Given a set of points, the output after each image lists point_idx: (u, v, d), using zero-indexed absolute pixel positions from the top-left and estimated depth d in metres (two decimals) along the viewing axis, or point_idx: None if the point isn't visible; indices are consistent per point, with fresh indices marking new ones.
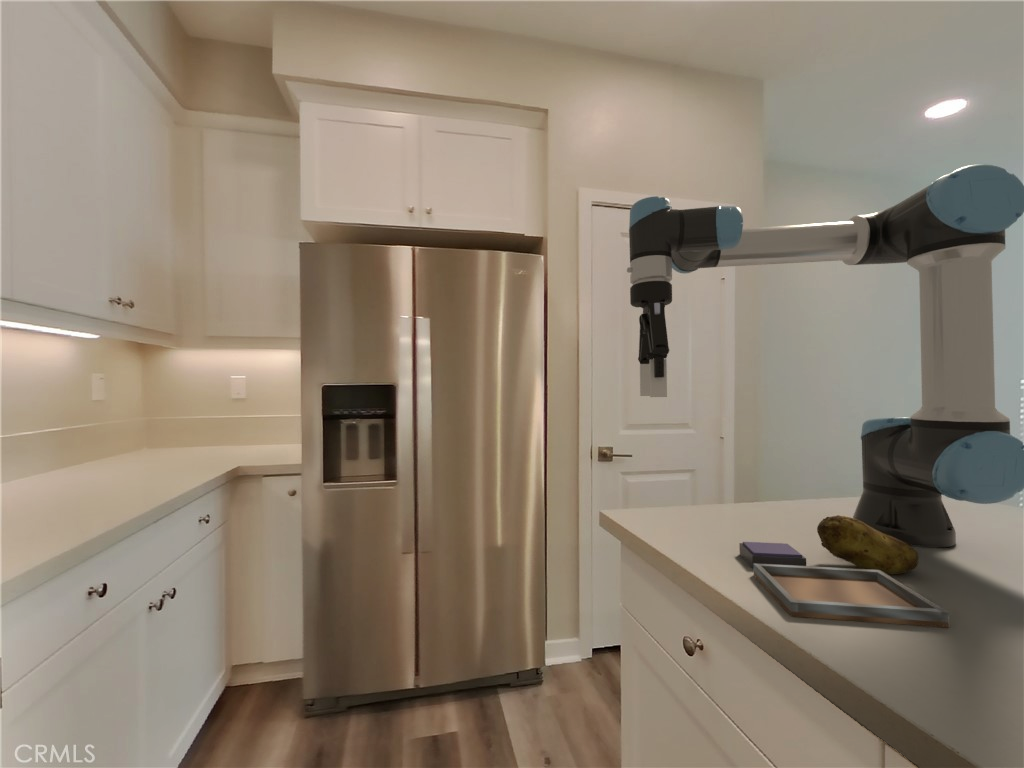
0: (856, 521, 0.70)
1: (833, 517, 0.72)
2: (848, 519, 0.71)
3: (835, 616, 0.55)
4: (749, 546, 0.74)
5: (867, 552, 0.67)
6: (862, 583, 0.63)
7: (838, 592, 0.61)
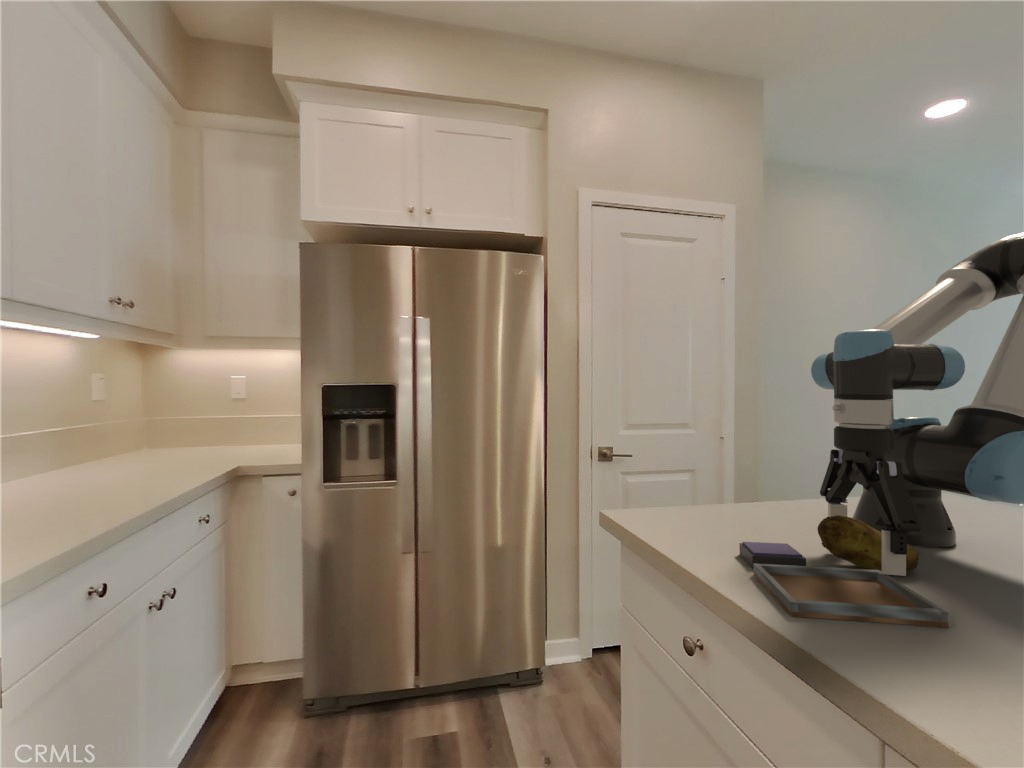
0: (856, 520, 0.70)
1: (833, 517, 0.72)
2: (848, 519, 0.71)
3: (835, 616, 0.55)
4: (749, 546, 0.74)
5: (867, 551, 0.67)
6: (862, 583, 0.63)
7: (838, 592, 0.61)
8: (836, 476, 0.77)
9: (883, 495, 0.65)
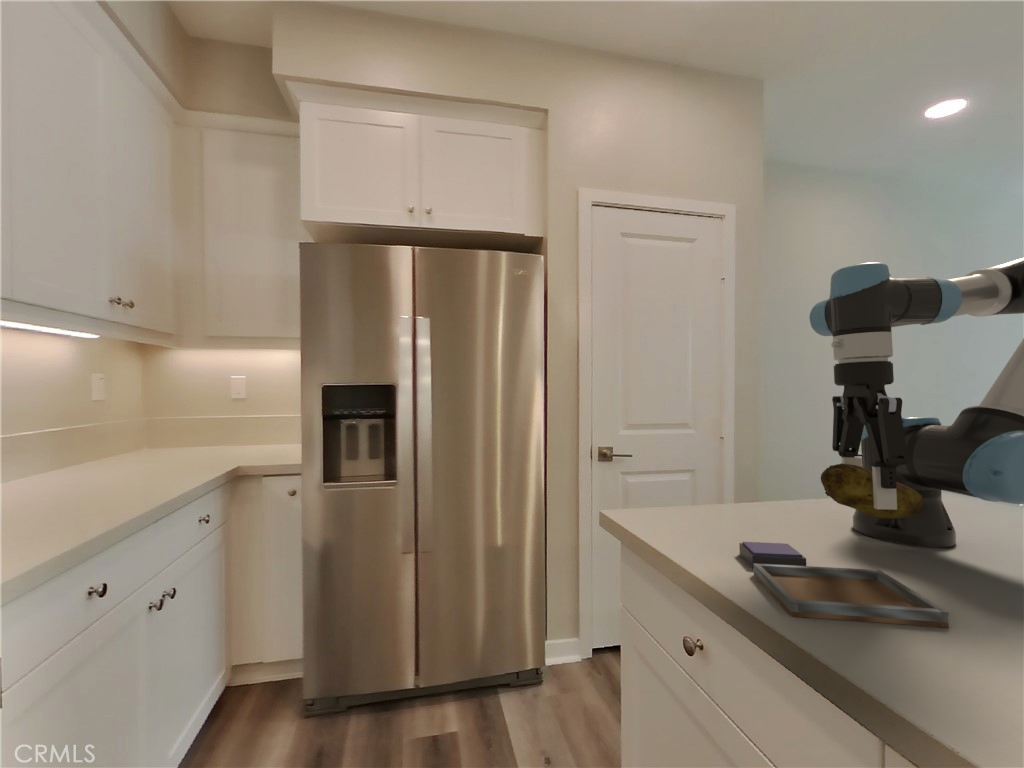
0: (859, 467, 0.70)
1: (836, 465, 0.72)
2: (851, 466, 0.71)
3: (835, 616, 0.55)
4: (749, 546, 0.74)
5: (870, 496, 0.67)
6: (862, 583, 0.63)
7: (838, 592, 0.61)
8: (844, 424, 0.76)
9: (879, 432, 0.67)
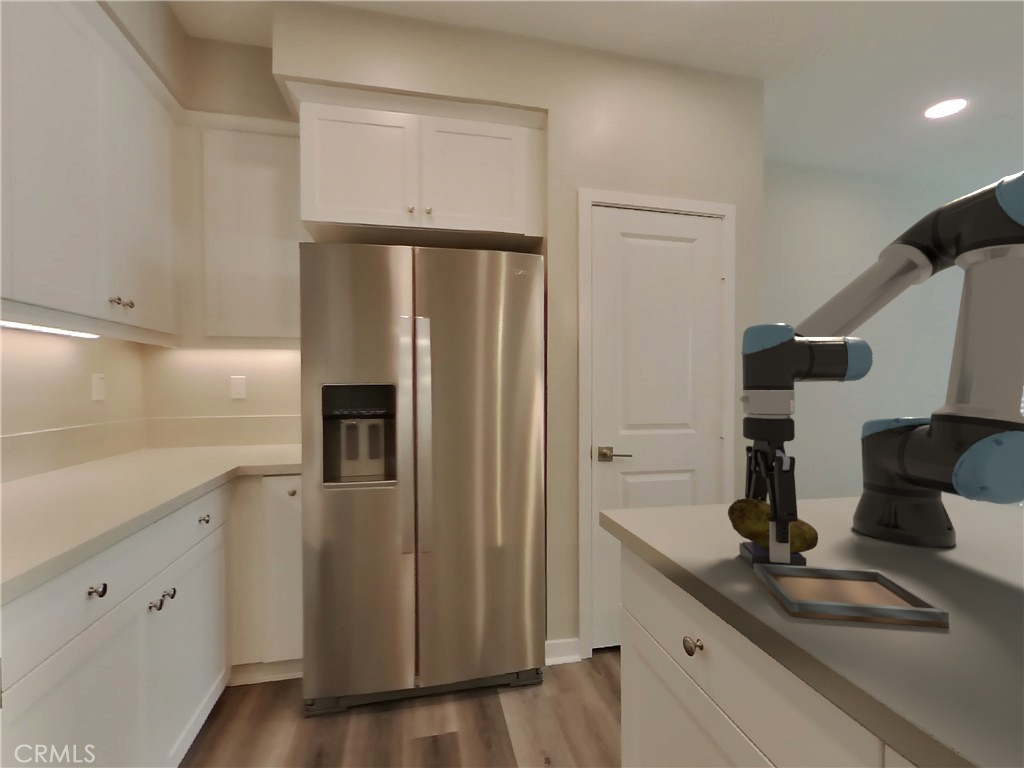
0: (762, 502, 0.73)
1: (742, 499, 0.74)
2: (755, 501, 0.73)
3: (835, 616, 0.55)
4: (749, 546, 0.74)
5: None
6: (862, 583, 0.63)
7: (838, 592, 0.61)
8: None
9: None
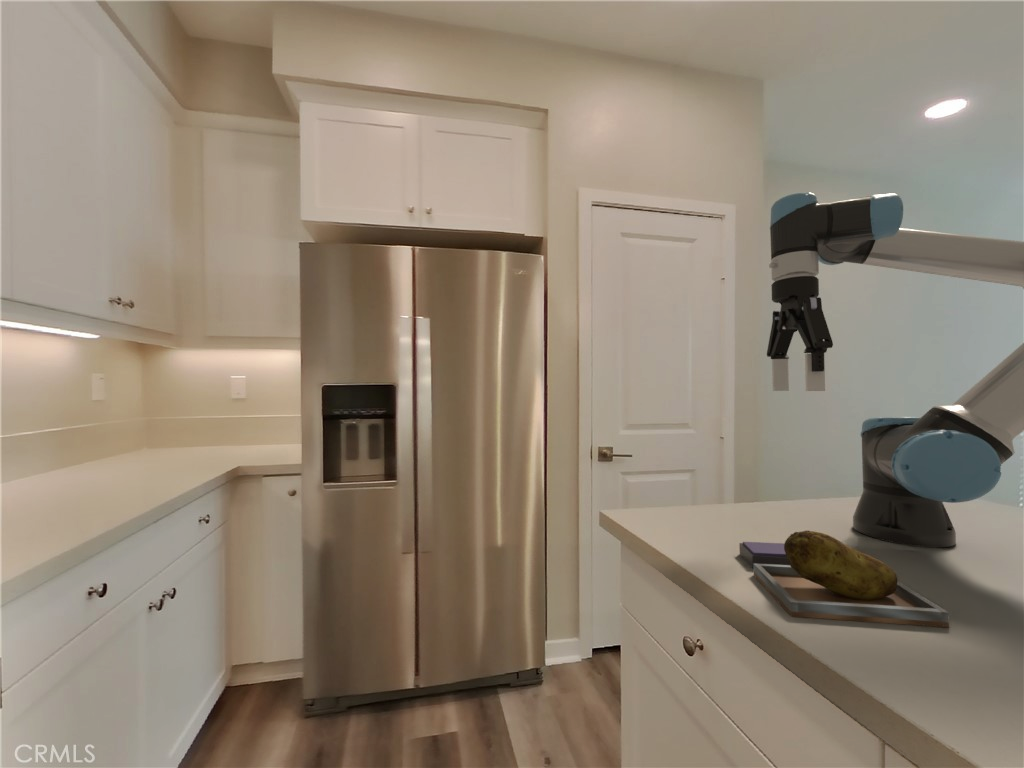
0: (827, 537, 0.61)
1: (802, 533, 0.62)
2: (818, 535, 0.61)
3: (835, 616, 0.55)
4: (749, 546, 0.74)
5: (839, 574, 0.58)
6: None
7: None
8: None
9: (807, 328, 0.77)
